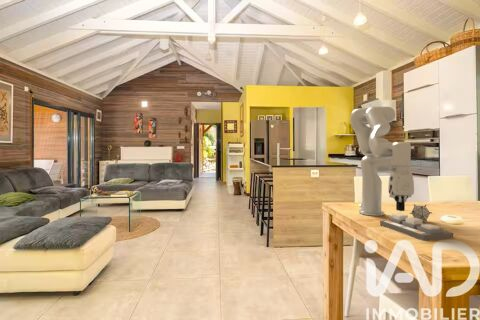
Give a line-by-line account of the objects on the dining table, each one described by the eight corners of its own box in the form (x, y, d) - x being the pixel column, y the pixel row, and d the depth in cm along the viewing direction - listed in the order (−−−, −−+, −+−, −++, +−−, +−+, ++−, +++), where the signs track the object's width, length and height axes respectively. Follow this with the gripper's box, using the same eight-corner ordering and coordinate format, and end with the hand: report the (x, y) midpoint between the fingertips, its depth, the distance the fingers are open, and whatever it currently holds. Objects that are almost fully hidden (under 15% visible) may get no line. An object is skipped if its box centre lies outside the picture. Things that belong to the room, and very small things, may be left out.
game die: (422, 228, 144) (433, 211, 145) (426, 225, 136) (438, 208, 137) (404, 217, 148) (414, 201, 148) (407, 214, 140) (418, 197, 141)
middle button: (405, 222, 126) (405, 217, 126) (414, 221, 127) (414, 217, 127) (413, 225, 122) (413, 220, 122) (422, 224, 123) (422, 219, 123)
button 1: (392, 218, 134) (392, 213, 134) (400, 217, 135) (400, 213, 135) (399, 220, 130) (399, 216, 130) (407, 220, 131) (407, 215, 131)
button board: (380, 224, 135) (380, 217, 135) (405, 223, 138) (406, 215, 138) (423, 240, 112) (423, 231, 112) (453, 238, 115) (453, 229, 115)
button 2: (420, 229, 119) (420, 224, 119) (429, 228, 120) (429, 223, 120) (430, 232, 114) (430, 227, 114) (439, 231, 115) (439, 226, 115)
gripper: (392, 170, 126) (392, 212, 127) (421, 170, 130) (421, 211, 130) (380, 169, 134) (380, 209, 134) (408, 169, 137) (407, 208, 137)
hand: (400, 210), depth 132 cm, fingers closed
